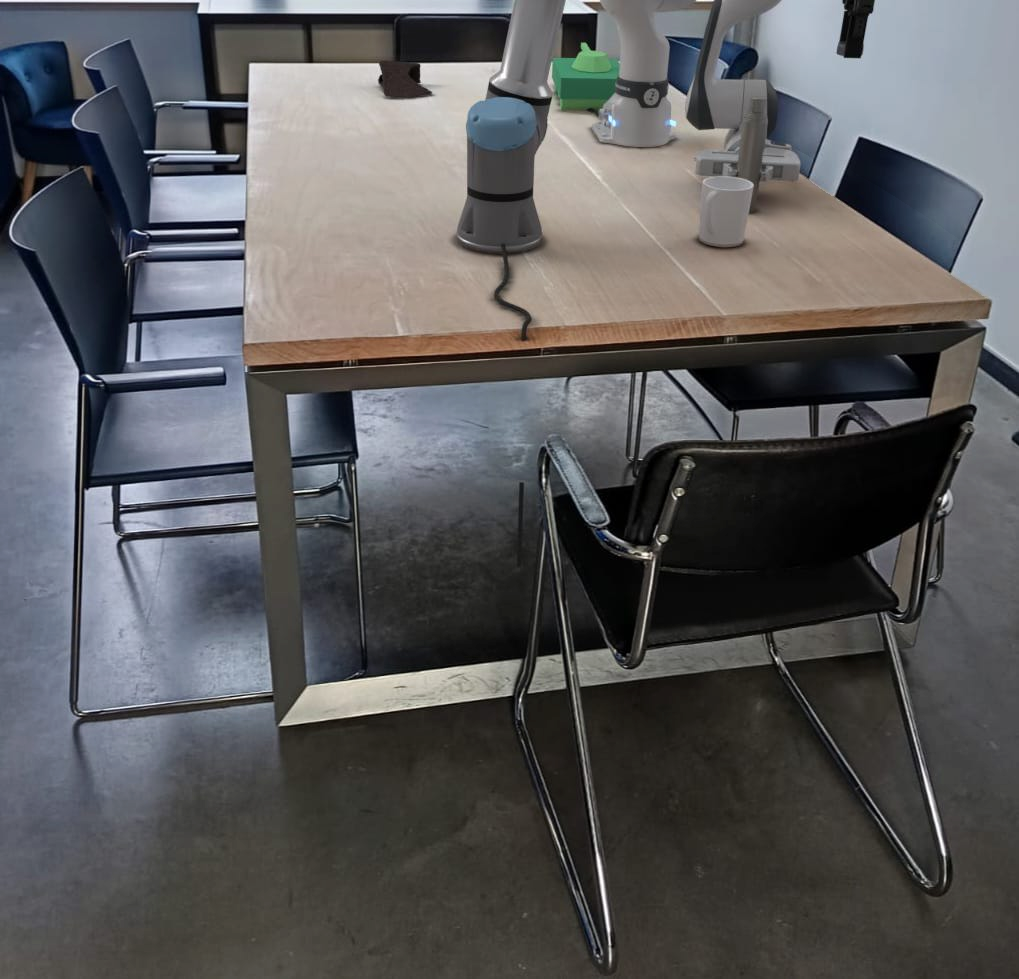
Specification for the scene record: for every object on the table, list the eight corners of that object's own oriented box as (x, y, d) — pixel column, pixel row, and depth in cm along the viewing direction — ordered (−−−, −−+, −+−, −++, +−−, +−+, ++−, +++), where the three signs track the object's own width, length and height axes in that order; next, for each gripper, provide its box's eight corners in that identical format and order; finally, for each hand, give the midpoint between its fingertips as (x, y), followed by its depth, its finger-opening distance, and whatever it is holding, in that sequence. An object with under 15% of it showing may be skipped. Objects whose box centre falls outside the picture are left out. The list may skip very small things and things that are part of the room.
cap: (859, 52, 186) (861, 41, 185) (865, 57, 182) (867, 45, 181) (833, 51, 186) (835, 40, 185) (839, 56, 182) (841, 45, 182)
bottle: (738, 213, 212) (753, 100, 201) (727, 206, 216) (741, 95, 205) (759, 212, 213) (775, 99, 202) (748, 205, 217) (763, 94, 206)
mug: (712, 228, 203) (718, 173, 198) (754, 239, 198) (762, 182, 193) (680, 243, 196) (686, 186, 191) (724, 254, 191) (731, 196, 186)
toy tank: (614, 39, 306) (631, 63, 276) (610, 85, 312) (627, 113, 282) (551, 38, 305) (561, 62, 275) (549, 84, 311) (559, 112, 281)
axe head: (443, 87, 294) (392, 77, 287) (436, 115, 299) (385, 106, 292) (421, 62, 307) (371, 52, 300) (414, 89, 311) (365, 80, 304)
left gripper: (914, -99, 165) (883, 65, 177) (886, -105, 179) (860, 46, 191) (863, -100, 165) (836, 64, 177) (840, -106, 179) (816, 45, 192)
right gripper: (696, 139, 221) (695, 156, 210) (799, 144, 219) (804, 162, 207) (692, 170, 225) (692, 189, 213) (794, 176, 222) (799, 195, 211)
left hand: (849, 54), depth 184 cm, fingers closed on cap, 4 cm apart
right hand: (748, 176), depth 210 cm, fingers closed on bottle, 4 cm apart
